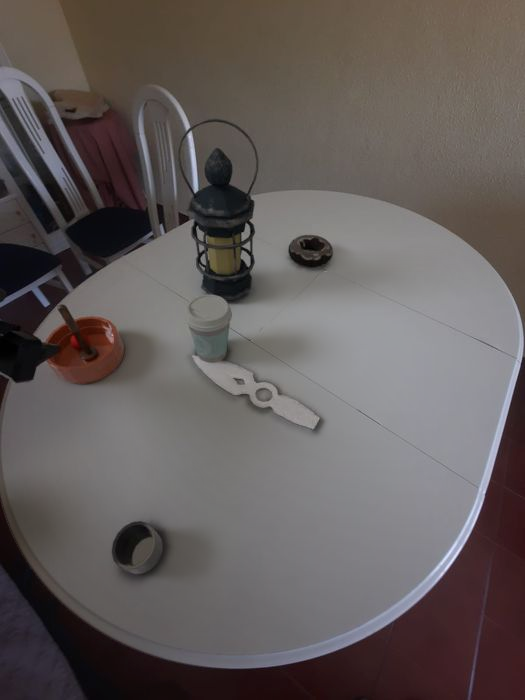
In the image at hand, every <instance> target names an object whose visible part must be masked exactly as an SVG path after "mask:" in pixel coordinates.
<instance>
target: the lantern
mask: <svg viewBox="0 0 525 700" xmlns="http://www.w3.org/2000/svg"><path fill="white" fill-rule="evenodd" d="M208 123H223V124H226V125H229V126H231V127H233V128H235V129H236V130H238V131H239V132H240V133H242V134H243V136H245V138H247V140H248V142H249V143H250V144H251V147H252V149H253V151H254V156H255V172H254V176H253V180H252V181H251V183H250V186H249V189H248V191H247V193H246V192H245V191H243V190H241V189H239V188H238V187H236V186H234V185H232V184H231V180H232V177H233V163H232V162H231V161H232V160H230V158H229V157H228V156H227V155H226V154H225V152H224V151H223V150H222V149H221V148H219V147H215V148H214V149H213V150H212V152H211V153H210V155H209V156H208V157H207V159H206V161H205V164H204V176H205V178H206V180H207V182H208V184H210V185H207V186H204V187H202V188H201V189H199V190H197V191H196V192H195V191H194V190H193V187H192V186H191V184H190V182H189V181H188V179H187V177H186V175H185V171H184V169H183V166H182V161H181V149H182V145H183V142H184V140H185V139H186V137H187V135H188V134H189V133H190V132H191V131H192V130H194V129H195V128H196V127H197V128H198V127H199V126H201V125H204V124H208ZM258 155H259V154H258V151H257V148H256V145H255V144H254V141H253V140H252V139H251V137H250V135H248V133H247V132H246V131H245V130H244V129H243V128H241V127H240V126H238V124H236V123H233V122H231V121H228V120H225V119H220V118H208V119H204V120H200V121H198V122H197V123H195V124H193V125H192V126H190V127H189V128H188V129H187V130H186V131H185V132H184V133H183V135H182V137H181V138H180V140H179V144H178V146H177V163H178V167H179V170H180V173H181V176H182V178H183V180H184V182H185V183H186V185H187V187H188V190H189V191H190V193H191V194H192V197H191V199H190V201H189V204H188V207H187V209H186V215H187V216H189V217H190V218H191V219H193V223H192V224H193V225H192V226H191V228H190V229H191V230H190V232H191V233H190V235H191V238H192V239H193V240H194V241H195V246H196V247H195V248H196V253H197V254H196V255H197V256H196V257H195V267H196V269H197V270H198V271H199V272H200V274H201V275H202V281H201V282H202V283H201V287H200V288H201V290H203V291H204V292H205V293H206V294H207V295H216V296H220V297H222V298H223V299H225V300H226V301H235V300H237V299H239V298H241V297H243V296H244V295H246V294H248V293H249V292H251V290H252V281H253V277H252V275H251V272H252V270H253V269H254V267H255V264H256V260H255V255H254V253H253V251H254V250H253V249H254V248H253V247H254V246H253V245H254V243H253V241H254V240H253V238H254V236H255V234H256V229H255V225H254V223H253V222H252V221H251V220H252V219H253V218H254V211H255V205H256V204H255V203H256V202H255V200H253V199H252V196H251V195H250V194H251V192H252V190H253V187H254V185H255V183H256V180H257V176H258V173H259V156H258ZM246 225H248V227H249V235H248V237H246V238H245V239H244V240H243V239H242V233H245V230H246ZM197 228H198V230H199V231H200V232H202V233H203V236H202V240H201V239H199V236H198V230H197ZM248 243H249V248H250V249H248V248H246V247H244V246H245V245H246V244H248ZM200 246H202V247H203V250H200ZM243 252H245V253H246V254H247V255H248V256H249V259H250V260H249V266H248V265H247V263H246V261H245V260H244V259H243V258H242V253H243ZM203 256H204V259H205V264H204V263H202V260H201V258H202V257H203ZM202 267H203V268H204V269H203V268H202Z"/></svg>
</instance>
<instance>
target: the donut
mask: <svg viewBox="0 0 525 700" xmlns="http://www.w3.org/2000/svg"><path fill="white" fill-rule="evenodd" d="M287 251H288V255H289V257H290V260H292V261H293V262H294V263H295V264H297V265H298V266H301V267H304V268H313V269H314V268H315V269H316V268H320V267H322V266H326V265H327V264H328V263H329V262H330V261H331V259H332V258H333V256H334V248H333V246H332V244H331V243H330V241H329V240H328V239H326V238H325V237H322V236H319V235H317V234H303V235H300V236H297V237H295V238H294V239H292V240H291V242H290V243H289V245H288V250H287Z"/></svg>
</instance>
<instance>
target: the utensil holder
mask: <svg viewBox="0 0 525 700" xmlns="http://www.w3.org/2000/svg"><path fill="white" fill-rule="evenodd" d="M163 547H164V544H163V540H162V537H161V535H160V534H159V533H158V532H157V531H156V530H155V529H154V528H153V526H151V525H150V524H149V523H147V522H145V521H142V520H140V521H139V520H138V521H132V522H130V523H127V524H126V525H125V526H123V527H122V528H121V529H119V531H118V532H117V533H116V536H115V537H114V539H113V542H112V546H111V556H112V560H113V562H114V563H115V565H116V566H117V567H118V568H120V569H122V570H124V571H125V572H126V571H127V572H129V573H132V574H134V575H142V574H146V573H147V572H150V571H151V570H153V569H154V567H156V565H158V562H159V561H160V559H161V557H162V554H163Z"/></svg>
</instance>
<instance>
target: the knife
mask: <svg viewBox="0 0 525 700" xmlns="http://www.w3.org/2000/svg"><path fill="white" fill-rule="evenodd" d="M191 357H192V359H193V361H194V363H195V364H196V366H197V367H198V368H199V369H200V370H201V372H203V374H204V375H205V376H207V377H208V378H209V379H210V380H211V381H212V382H213V383H215V384H216V385H217V386H219V387H221V388H222V389H223V390H224V391H226V392H228V393H229V394H232V395H233V396H239V395H249V398H250V401H251V402H252V404H253V405H254V406H256V407H258V408H262V409H263V408H264V409H267V408H271V409H272V410H273V413H275V414H277V415H278V416H280V417H281V416H282V417H283V418H285V419H286V420H288V421H290V422H292V423H294V424H296V425H300V426H302V427H306V428H309V429H312V430H315V428H316V426H317V424H318V423H319V422H320V418H321V417H320V416H319V415H317V414H315V413H314V412H313V411H312V410H311V409H310V408H308V407H306V405H304V404H303V403H300V401H297V400H296V398H295V399H294V398H291V397H289V396H287V395H283V394H278V390H277V389H278V388H277V387H275V386H274V385H273V384H272V383H269V382H265V381H264V382H263V381H261V382H257V381H255V379H254V372H252V371H250V370H248V369H246V368H244V367H241V366H239V365H238V364H237V365H236V364H234V363H232V362H229V361H225V360H224V359H223V360H221V361H219V362H216V363H209V362H205V361H203V360H201V359H200V358H199V357H198V355H196V354H195V355H193V354H191ZM236 379H237V380H243V383H244V384H239V383H237V381H236ZM261 389H267V390H268V391H270V392H271V394H272V395H271V399H269V400H267V401H262V400H260V399H259V398H257V395H256V393H257V391H258V390H261Z"/></svg>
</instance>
